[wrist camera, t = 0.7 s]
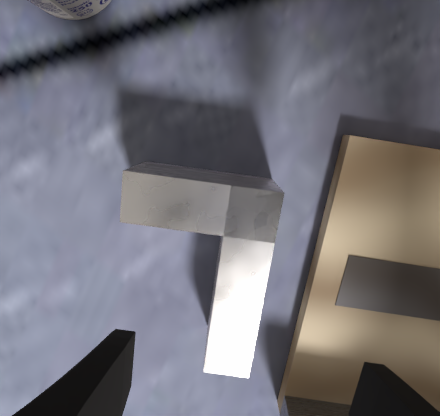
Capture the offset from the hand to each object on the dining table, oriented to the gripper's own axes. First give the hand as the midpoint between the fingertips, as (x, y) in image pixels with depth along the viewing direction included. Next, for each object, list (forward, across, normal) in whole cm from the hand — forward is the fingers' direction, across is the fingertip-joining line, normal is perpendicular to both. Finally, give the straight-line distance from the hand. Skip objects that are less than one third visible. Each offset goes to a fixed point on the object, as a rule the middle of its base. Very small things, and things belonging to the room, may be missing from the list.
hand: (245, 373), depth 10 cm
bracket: (+10, +2, 0) cm, 10 cm away
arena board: (+9, -14, +1) cm, 17 cm away
